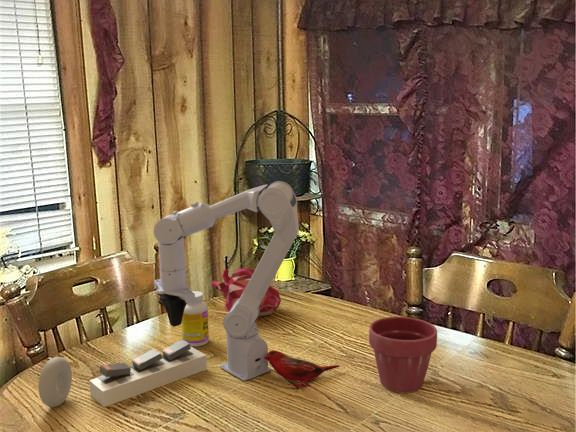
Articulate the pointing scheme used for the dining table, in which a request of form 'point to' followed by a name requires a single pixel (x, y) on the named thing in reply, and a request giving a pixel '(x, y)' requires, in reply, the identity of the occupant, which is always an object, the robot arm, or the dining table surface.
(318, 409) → the dining table surface
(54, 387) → the grey round disc
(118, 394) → the rocker switch panel
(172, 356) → the block
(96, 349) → the dining table surface
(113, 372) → the rocker
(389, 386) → the plant pot
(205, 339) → the supplement bottle
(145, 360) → the rocker
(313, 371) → the decorative bird figurine
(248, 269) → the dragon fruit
